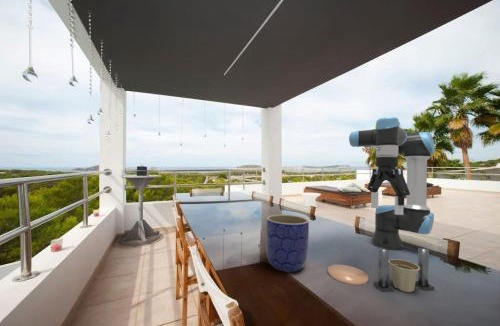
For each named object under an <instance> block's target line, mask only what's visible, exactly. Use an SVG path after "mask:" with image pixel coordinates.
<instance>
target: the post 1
mask: <svg viewBox="0 0 500 326" xmlns="http://www.w3.org/2000/svg"><path fill="white" fill-rule="evenodd" d="M389 258H390V249H386V248H381V247H378V261H377V262H378V264H377V265H378V270H377V271H378V272H377V273H378V274H377V275H378V276H377V280H378V281H373V286H374V287H375V288H376V289H378V290H379V291H380V292H381V293H386V292H387V293H389V292H394V287H393V286H391V285H389V279H390V277H389V275H390V274H389V271H390V270H389V269H390V268H389V266H390V263H389V260H390V259H389Z"/></svg>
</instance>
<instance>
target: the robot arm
mask: <svg viewBox="0 0 500 326" xmlns="http://www.w3.org/2000/svg"><path fill="white" fill-rule="evenodd" d="M348 142H349V145H350V146H351V147H353V148H360V147H363V148H369V149H374V150H375V156H376V158H375V167H377V168H372V173H371V177H370V180H369V183H368V186H367V187H366V188H367V191H369V192H370V208H371V209H375V212H374V213H375V215H374V216H375V218H374V219H375V220H374V221H375V222H374V223H375V225H374V226H375V227H374V229H375V230H374V233H373V235H372V238H371V244H373V246H376V247H378V248H386V249H388V250H392V251H399V250H403V243H402V239H401V237H400V231H403V232H410V233H413V234H418V235H426V236H427V235H429V234H431V231H432V230H433V225H434V223H435V222H434V221H435V214H434V213H433V212H431V209H430V207H429V206H427V189H428V188H427V182H428V181H427V180H428V179H427V178H428V160H430V158H432V157H431V156H432V155H433V154H435V152H436V151H435V150H436V148H435V143H434V138H433V136H432V134H431V132H427V131H425V132H424V131H423V132H420V131H419V132H410V133H407V132H406V131H405V130H404V128H401V127H400V122H399V118H398V117H396V116H386V117H380V118H378V119H377V120H376V125H375V128H374V129H367V130H366V129H365V130H363V129H362V130H357V131H352V132H350V134H349V136H348ZM399 155H403V158H404V159H405V160H406V179H405V177H404V170H403V169H402V168H397V167H399V158H398V156H399ZM384 181H386V182H389V184H390V186H391V187H392V189H393V191H394V193H395V195H394V204H393V205H392V204H391V205H387V204H385V205H384V204H383V205H382V204H381V205H379V189H380V188H381V186H382V184H383V183H384ZM405 197H406V203H405Z"/></svg>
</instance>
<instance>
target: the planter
mask: <svg viewBox="0 0 500 326" xmlns="http://www.w3.org/2000/svg"><path fill="white" fill-rule="evenodd" d="M265 225H266V226H265V252H266V253H265V254H266V257H267V261H268V262H269V264H270V265H271V267H272V268H274V269H276V270H278V271H280V272H285V273H292V272H299V271H300V270H301V269H302V268H303V267H304V265H305V264H306V262H307V259H308V250H309V236H310V235H309V234H310V231H309V230H310V221H309V219H308V218H306V217H303V216H298V215H293V214H292V215H291V214H271V215H269V216H267V217H266V223H265Z"/></svg>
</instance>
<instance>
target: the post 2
mask: <svg viewBox="0 0 500 326" xmlns="http://www.w3.org/2000/svg"><path fill="white" fill-rule="evenodd" d="M417 265H418V266H419V267H420V270H418V273H417V280H416V282H415V287H416V288H418V289H420V290H421V291H425V292H427V291H428V292H429V291H430V292H431V291H435V286H433V285H431V284H430V249H428V248H426V247H420V246H419V247H417Z"/></svg>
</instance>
